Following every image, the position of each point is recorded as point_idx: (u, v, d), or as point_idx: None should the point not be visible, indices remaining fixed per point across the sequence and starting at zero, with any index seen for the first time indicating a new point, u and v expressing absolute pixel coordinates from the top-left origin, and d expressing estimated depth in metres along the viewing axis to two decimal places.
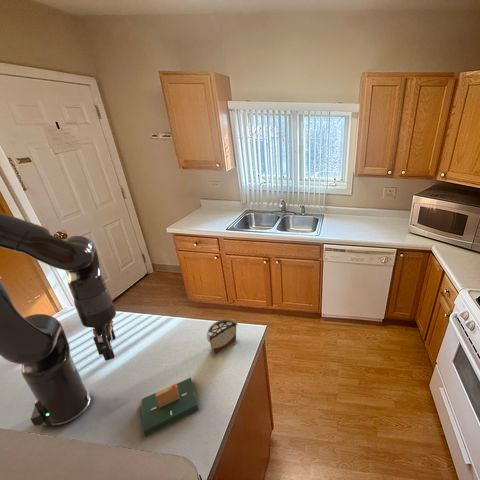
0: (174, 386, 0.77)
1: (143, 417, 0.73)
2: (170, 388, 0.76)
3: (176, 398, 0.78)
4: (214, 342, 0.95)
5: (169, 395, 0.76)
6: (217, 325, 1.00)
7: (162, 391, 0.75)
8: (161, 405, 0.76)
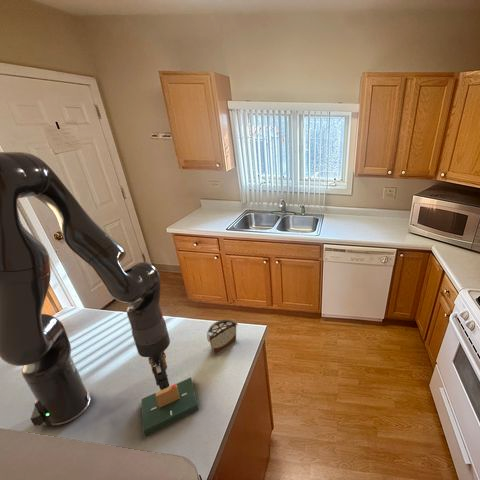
0: (174, 386, 0.77)
1: (143, 417, 0.73)
2: (170, 388, 0.76)
3: (176, 398, 0.78)
4: (214, 342, 0.95)
5: (169, 395, 0.76)
6: (217, 325, 1.00)
7: (162, 391, 0.75)
8: (161, 405, 0.76)
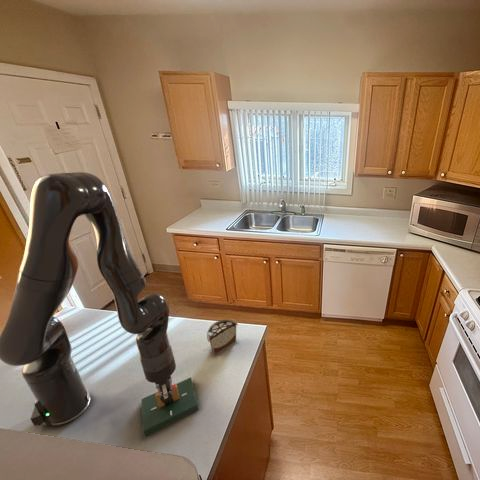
0: (174, 386, 0.77)
1: (143, 417, 0.73)
2: None
3: (176, 398, 0.78)
4: (214, 342, 0.95)
5: None
6: (217, 325, 1.00)
7: None
8: (161, 405, 0.76)
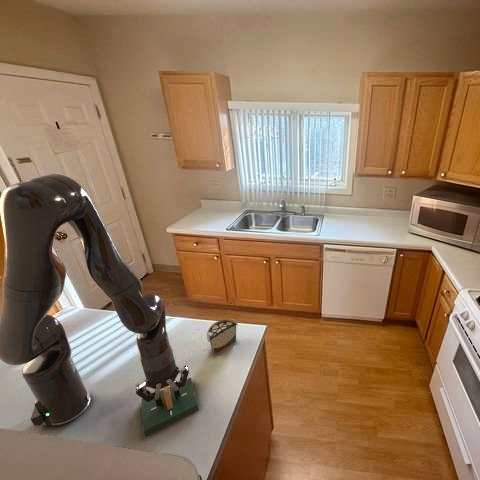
0: None
1: (143, 417, 0.73)
2: (166, 386, 0.77)
3: (170, 393, 0.80)
4: (214, 342, 0.95)
5: (169, 391, 0.77)
6: (217, 325, 1.00)
7: (166, 392, 0.75)
8: (172, 404, 0.77)
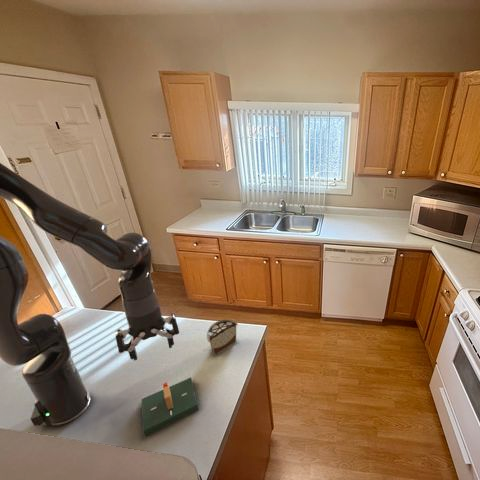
0: (166, 383, 0.78)
1: (143, 417, 0.73)
2: (166, 386, 0.77)
3: (170, 393, 0.80)
4: (214, 342, 0.95)
5: (169, 391, 0.77)
6: (217, 325, 1.00)
7: (166, 392, 0.75)
8: (172, 404, 0.77)
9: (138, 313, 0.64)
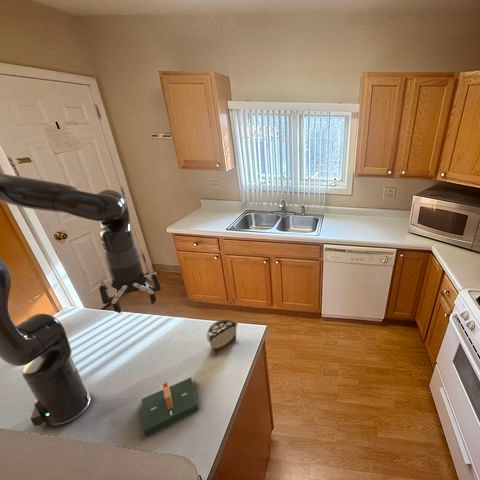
0: (166, 383, 0.78)
1: (143, 417, 0.73)
2: (166, 386, 0.77)
3: (170, 393, 0.80)
4: (214, 342, 0.95)
5: (169, 391, 0.77)
6: (217, 325, 1.00)
7: (166, 392, 0.75)
8: (172, 404, 0.77)
9: (119, 264, 0.69)
